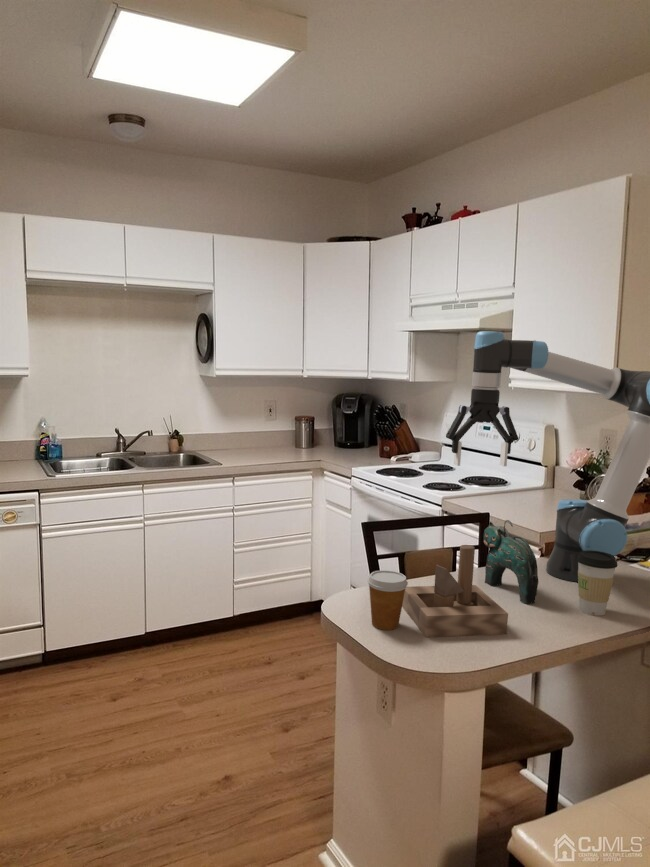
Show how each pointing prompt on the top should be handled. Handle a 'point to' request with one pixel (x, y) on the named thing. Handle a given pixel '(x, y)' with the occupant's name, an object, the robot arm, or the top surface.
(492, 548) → the teal animal figurine
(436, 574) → the wooden post with wedge
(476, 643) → the top surface
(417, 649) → the top surface
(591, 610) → the coffee cup
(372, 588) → the disposable coffee cup
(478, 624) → the walnut slotted base
